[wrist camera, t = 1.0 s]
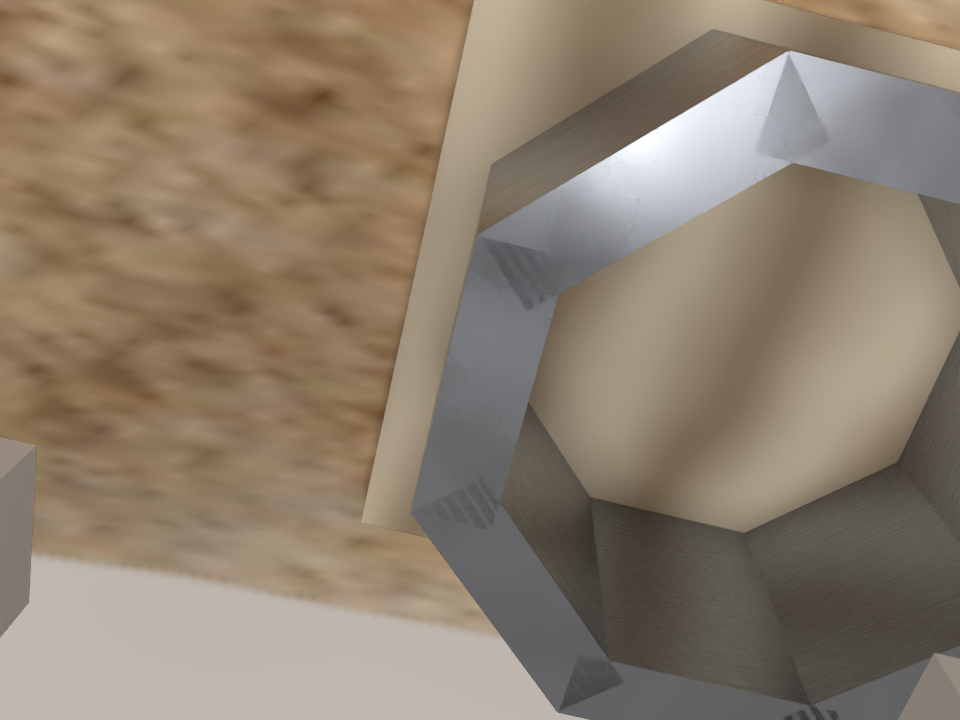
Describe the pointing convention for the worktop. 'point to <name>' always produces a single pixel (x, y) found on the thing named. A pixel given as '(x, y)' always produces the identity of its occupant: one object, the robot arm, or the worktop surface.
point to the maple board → (689, 285)
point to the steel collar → (663, 538)
